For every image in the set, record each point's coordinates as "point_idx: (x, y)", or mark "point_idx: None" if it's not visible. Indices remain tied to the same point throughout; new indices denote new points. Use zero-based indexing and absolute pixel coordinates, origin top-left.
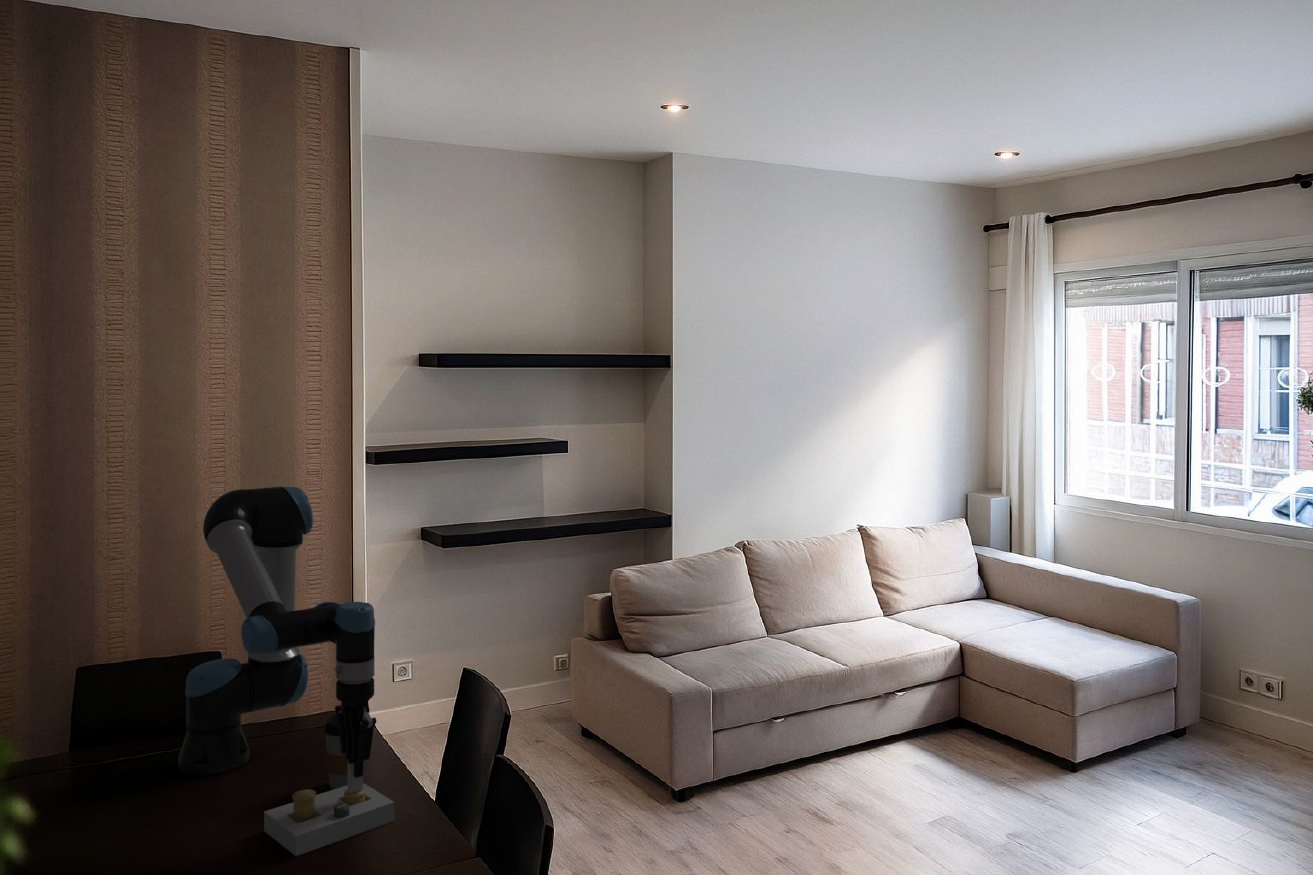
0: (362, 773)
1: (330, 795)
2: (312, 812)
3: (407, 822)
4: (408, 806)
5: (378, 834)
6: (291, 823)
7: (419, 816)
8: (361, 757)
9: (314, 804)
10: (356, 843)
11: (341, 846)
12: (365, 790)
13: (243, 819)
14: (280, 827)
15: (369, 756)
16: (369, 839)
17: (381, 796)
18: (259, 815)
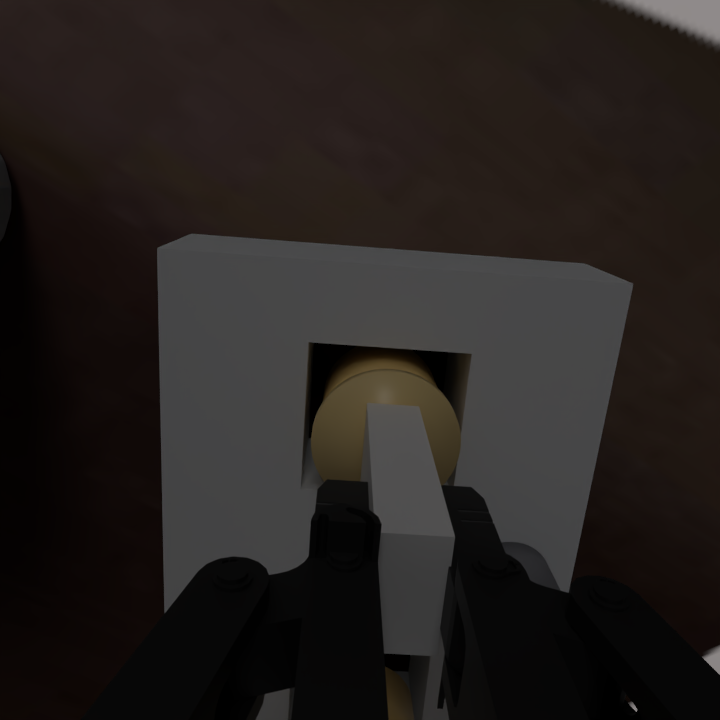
0: (484, 506)
1: (229, 497)
2: (410, 702)
3: (660, 223)
4: (501, 84)
5: (634, 406)
6: None
7: (662, 124)
8: (639, 716)
9: (401, 718)
10: (617, 519)
11: (583, 573)
12: (429, 391)
13: (19, 711)
14: None
15: (649, 611)
16: (637, 462)
17: (492, 292)
18: (24, 656)
